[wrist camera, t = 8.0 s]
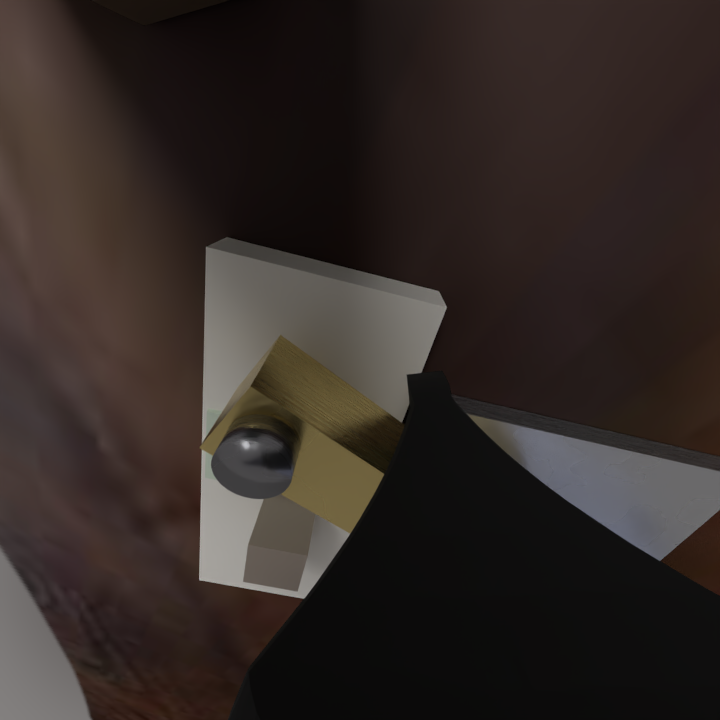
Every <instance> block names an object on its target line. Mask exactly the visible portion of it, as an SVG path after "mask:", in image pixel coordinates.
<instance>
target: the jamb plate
mask: <svg viewBox="0 0 720 720" xmlns="http://www.w3.org/2000/svg"><path fill="white" fill-rule="evenodd" d="M451 396H452V398H453V399H454V400H455V401H456V403H457V404H458V405H459V406H460V407H461V408H462V409H463V410H464V412H465V413H466V414H467V415H468V416H469V417H470V418H471V419H472V420H473V421H474V422H475V423H476V424H477V425H478V426H479V427H480V428H481V429H482V430H483V431H484V432H485V433H486V434H487V435H488V436H489V437H490V438H491V439H492V440H493V441H494V442H495V443H496V444H498V445H499V446H500V447H501V448H502V449H503V450H504V451H505V452H506V453H507V454H509V455H510V456H511V457H512V458H513V459H514V460H516V461H517V462H518V463H519V464H520V465H521V466H523V467H524V468H525V469H526V470H528V471H529V472H530V473H531V474H533V475H534V476H535V477H536V478H538V479H539V480H540V481H541V482H543V483H544V484H545V485H547V486H548V487H549V488H551V489H552V490H553V491H555V492H556V493H557V494H559V495H560V496H561V497H563V498H564V499H565V500H567V501H568V502H570V503H571V504H573V505H574V506H576V507H577V508H579V509H580V510H582V511H583V512H585V513H586V514H588V515H589V516H591V517H592V518H594V519H595V520H596V521H598V522H599V523H601V524H602V525H604V526H605V527H607V528H608V529H610V530H611V531H613V532H614V533H616V534H617V535H619V536H620V537H622V538H623V539H625V540H626V541H628V542H630V543H631V544H633V545H634V546H636V547H638V548H639V549H641V550H643V551H644V552H646V553H648V554H649V555H651V556H652V557H654V558H656V559H657V560H659V561H660V560H661V559H663V558H664V557H665V556H666V555H667V554H668V553H670V552H671V551H672V550H673V549H674V548H675V547H677V546H678V545H679V544H680V543H681V542H682V541H684V540H685V539H686V538H687V537H688V536H689V535H691V534H692V533H693V532H694V531H695V530H696V529H698V528H699V527H700V526H701V525H702V524H703V523H705V522H706V521H707V520H708V519H709V518H710V517H712V516H713V515H714V514H715V513H716V512H717V511H719V510H720V457H719V456H715V455H711V454H706V453H702V452H698V451H694V450H689V449H685V448H681V447H676V446H672V445H668V444H663V443H659V442H655V441H650V440H646V439H642V438H637V437H633V436H629V435H624V434H620V433H616V432H612V431H607V430H603V429H599V428H594V427H590V426H586V425H581V424H577V423H573V422H568V421H564V420H560V419H555V418H551V417H547V416H542V415H538V414H534V413H529V412H525V411H521V410H517V409H512V408H508V407H504V406H499V405H495V404H491V403H486V402H482V401H478V400H473V399H469V398H465V397H460V396H456V395H452V394H451Z"/></svg>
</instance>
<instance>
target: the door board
mask: <svg viewBox="0 0 720 720" xmlns="http://www.w3.org/2000/svg"><path fill="white" fill-rule="evenodd" d="M446 308H447V307H446V305H445V302H444V300H443V298H442V296H441V294H440V292H439V291H436V290H432V289H429V288H425V287H421V286H417V285H413V284H409V283H405V282H401V281H397V280H393V279H389V278H385V277H381V276H378V275H374V274H370V273H366V272H362V271H358V270H354V269H350V268H346V267H342V266H338V265H334V264H330V263H327V262H323V261H319V260H315V259H311V258H307V257H303V256H299V255H295V254H291V253H287V252H283V251H279V250H276V249H272V248H268V247H264V246H260V245H256V244H252V243H248V242H244V241H240V240H236V239H232V238H228V237H226V238H224V239H222V240H220V241H217V242H215V243H213V244H211V245H209V246H207V247H206V274H205V324H204V373H203V422H202V442H203V441H204V439H205V438H206V436H207V435H208V433H209V431H210V430H211V428H212V427H213V425H214V424H215V422H216V421H217V419H218V417H219V416H220V414H221V413H222V411H223V410H224V408H225V406H226V405H227V403H228V402H229V400H230V399H231V397H232V395H233V394H234V392H235V391H236V389H237V388H238V386H239V385H240V384H241V383H242V381H243V380H244V379H245V378H246V376H247V375H248V374H249V373H250V372H251V370H252V369H253V368H254V367H255V365H256V364H257V363H258V362H259V360H260V359H261V358H262V357H263V356H264V354H265V353H266V352H267V351H268V349H269V348H270V347H271V346H272V344H273V343H274V342H275V341H276V340H277V338H278V337H279V336H280V335H282V336H283V337H284V338H286V339H287V340H289V341H290V342H291V343H293V344H294V345H295V346H297V347H298V348H300V349H301V350H302V351H304V352H305V353H306V354H308V355H309V356H311V357H312V358H313V359H315V360H316V361H317V362H319V363H320V364H322V365H323V366H324V367H326V368H327V369H329V370H330V371H331V372H333V373H334V374H335V375H337V376H338V377H340V378H341V379H342V380H344V381H345V382H346V383H348V384H349V385H351V386H352V387H353V388H355V389H356V390H357V391H359V392H360V393H362V394H363V395H364V396H366V397H367V398H368V399H370V400H371V401H373V402H374V403H375V404H377V405H378V406H379V407H381V408H382V409H384V410H385V411H386V412H388V413H389V414H391V415H392V416H393V417H395V418H396V419H397V420H399V421H400V422H402V421H403V419H404V416H405V413H406V411H407V408H408V406H409V394H408V384H407V374H416V373H421V372H422V370H423V367H424V365H425V362H426V360H427V357H428V354H429V352H430V349H431V347H432V344H433V342H434V339H435V337H436V334H437V331H438V329H439V326H440V324H441V321H442V319H443V316H444V313H445V311H446ZM212 457H213V456H212V455H211V454H209V453H207V452H205V451H204V450H202V471H201V521H200V570H199V580H202V581H208V582H213V583H219V584H224V585H230V586H236V587H241V588H247V589H252V590H258V591H264V592H269V593H275V594H281V595H286V596H292V597H297V598H303V599H304V598H305V597H306V596H307V594H308V593H309V592H310V590H311V589H312V588H313V586H314V585H315V584H316V582H317V581H318V580H319V578H320V577H321V575H322V574H323V572H324V571H325V570H326V568H327V567H328V565H329V564H330V562H331V561H332V560H333V558H334V557H335V555H336V554H337V552H338V551H339V550H340V548H341V547H342V545H343V544H344V542H345V541H346V539H347V538H348V537H349V535H350V533H348V532H346V531H345V530H343V529H341V528H339V527H338V526H336V525H334V524H332V523H330V522H329V521H327V520H325V519H323V518H322V517H320V516H318V515H316V514H315V513H313V512H311V511H309V510H308V509H306V508H304V507H302V506H301V505H299V504H297V503H295V502H293V501H292V500H290V499H288V498H286V497H285V496H283V495H281V494H280V495H278V496H275V497H272V498H267V499H251V498H246V497H243V496H240V495H237V494H235V493H233V492H231V491H229V490H227V489H226V488H225V487H223V486H222V485H221V484H220V483H219V482H218V481H217V479H216V478H215V476H214V474H213V472H212V469H211V460H212Z"/></svg>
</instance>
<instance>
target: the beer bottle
mask: <svg viewBox="0 0 720 720" xmlns="http://www.w3.org/2000/svg"><path fill="white" fill-rule="evenodd" d="M91 1H93V2H95V3H97V4H99V5H101V6H103V7H105V8H107V9H110V10H112V11H114V12H116V13H118V14H120V15H122V16H124V17H126V18H128V19H131V20H133V21H135V22H137V23H139V24H141V25H143V26H145V25H149V24H152V23H155V22H159V21H162V20H165V19H169V18H172V17H175V16H179V15H182V14H185V13H189V12H192V11H196V10H199V9H202V8H206V7H209V6H212V5H216V4H219V3H222V2H226V1H229V0H91Z"/></svg>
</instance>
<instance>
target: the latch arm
mask: <svg viewBox="0 0 720 720" xmlns="http://www.w3.org/2000/svg"><path fill="white" fill-rule="evenodd" d="M404 426H405V425H404V424H403V423H402V422H400V421H399V420H397V419H396V418H395V417H393V416H392V415H391V414H389V413H388V412H386V411H385V410H384V409H382V408H381V407H379V406H378V405H377V404H375V403H374V402H373V401H371V400H370V399H368V398H367V397H366V396H364V395H363V394H362V393H360V392H359V391H357V390H356V389H355V388H353V387H352V386H351V385H349V384H348V383H346V382H345V381H344V380H342V379H341V378H340V377H338V376H337V375H335V374H334V373H333V372H331V371H330V370H329V369H327V368H326V367H324V366H323V365H322V364H320V363H319V362H317V361H316V360H315V359H313V358H312V357H311V356H309V355H308V354H306V353H305V352H304V351H302V350H301V349H300V348H298V347H297V346H295V345H294V344H293V343H291V342H290V341H289V340H287V339H286V338H284V337H283V336H282V335H280V336H279V337H278V338H277V340H276V341H275V342H274V343H273V344H272V346H271V347H270V348H269V349H268V351H267V352H266V353H265V354H264V356H263V357H262V358H261V359H260V360H259V362H258V363H257V364H256V365H255V367H254V368H253V369H252V370H251V372H250V373H249V374H248V375H247V376H246V378H245V379H244V380H243V381H242V383H241V384H240V385H239V386H238V388H237V389H236V391H235V392H234V394H233V395H232V397H231V399H230V400H229V402H228V403H227V405H226V406H225V408H224V410H223V411H222V413H221V414H220V416H219V417H218V419H217V421H216V422H215V424H214V425H213V427H212V428H211V430H210V431H209V433H208V435H207V436H206V438H205V439H204V441H203V442H202V444H201V446H200V447H199V448H200V449H202V450H204V451H205V452H207V453H209V454H211V455H212V456H213V457H212V460H211V469H212V472H213V474H214V476H215V478H216V479H217V481H218V482H219V483H220V484H221V485H222V486H223V487H225V488H226V489H227V490H229V491H231V492H233V493H235V494H237V495H240V496H243V497H246V498H251V499H267V498H272V497H275V496H278V495H280V494H281V495H283V496H285V497H286V498H288V499H290V500H292V501H293V502H295V503H297V504H299V505H301V506H302V507H304V508H306V509H308V510H309V511H311V512H313V513H315V514H316V515H318V516H320V517H322V518H323V519H325V520H327V521H329V522H330V523H332V524H334V525H336V526H338V527H339V528H341V529H343V530H345V531H346V532H348V533H351V532H352V530H353V529H354V527H355V526H356V524H357V522H358V521H359V519H360V517H361V516H362V514H363V512H364V510H365V509H366V507H367V505H368V504H369V502H370V500H371V498H372V497H373V495H374V493H375V491H376V489H377V488H378V486H379V484H380V482H381V480H382V478H383V476H384V474H385V472H386V470H387V468H388V466H389V463H390V461H391V459H392V457H393V454H394V452H395V449H396V447H397V444H398V442H399V439H400V437H401V434H402V432H403V429H404Z"/></svg>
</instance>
